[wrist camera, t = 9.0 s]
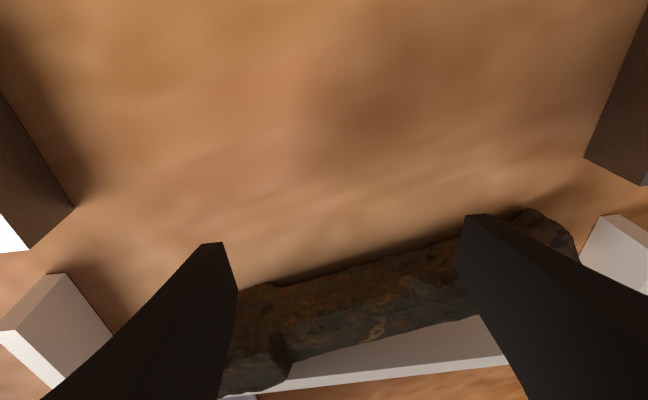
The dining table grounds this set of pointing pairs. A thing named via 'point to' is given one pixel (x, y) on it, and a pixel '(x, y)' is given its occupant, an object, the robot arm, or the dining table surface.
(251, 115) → the dining table surface
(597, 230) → the white u-shaped bracket
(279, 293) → the hand tool
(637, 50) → the tool holder
